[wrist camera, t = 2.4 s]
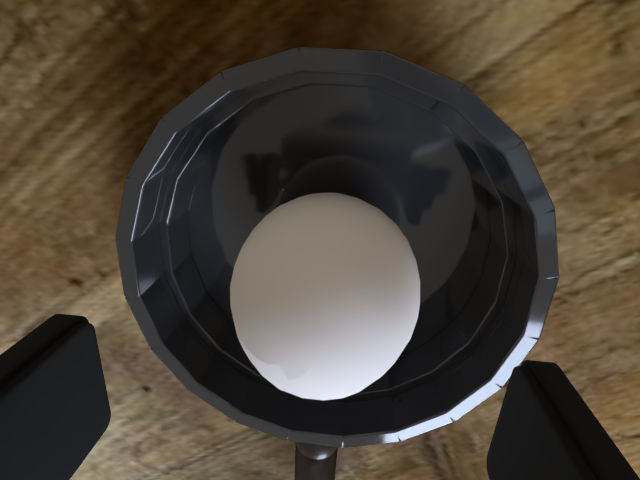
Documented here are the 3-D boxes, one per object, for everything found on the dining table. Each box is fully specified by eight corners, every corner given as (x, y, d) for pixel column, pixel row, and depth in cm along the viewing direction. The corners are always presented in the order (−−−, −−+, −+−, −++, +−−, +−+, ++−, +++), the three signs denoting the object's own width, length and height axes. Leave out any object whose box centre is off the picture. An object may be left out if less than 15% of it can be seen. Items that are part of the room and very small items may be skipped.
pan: (154, 47, 14) (81, 35, 11) (554, 68, 13) (629, 62, 10) (184, 359, 20) (143, 423, 16) (472, 392, 19) (499, 468, 15)
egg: (391, 318, 17) (410, 480, 10) (257, 295, 17) (186, 438, 10) (422, 185, 15) (476, 277, 8) (267, 161, 15) (185, 229, 8)
